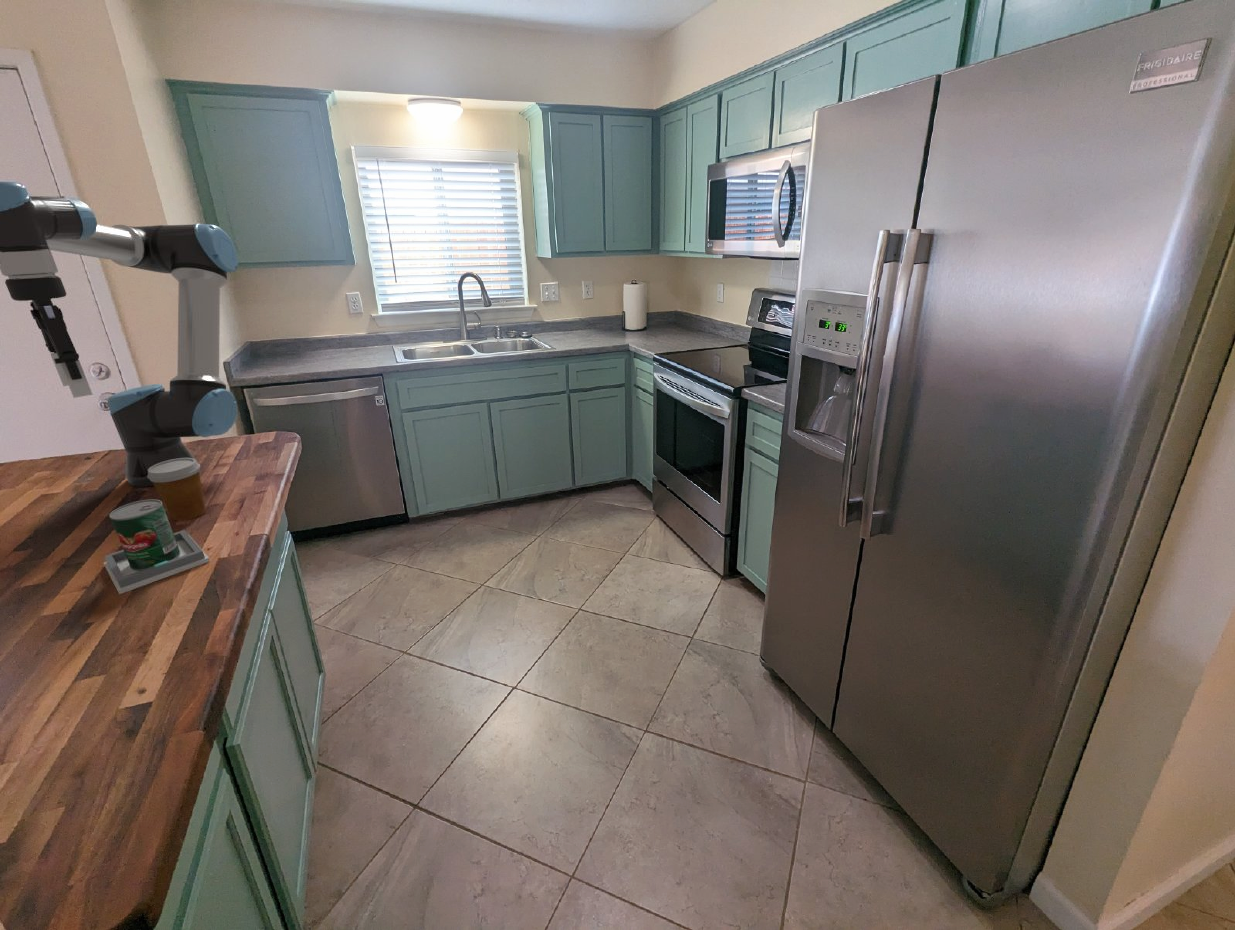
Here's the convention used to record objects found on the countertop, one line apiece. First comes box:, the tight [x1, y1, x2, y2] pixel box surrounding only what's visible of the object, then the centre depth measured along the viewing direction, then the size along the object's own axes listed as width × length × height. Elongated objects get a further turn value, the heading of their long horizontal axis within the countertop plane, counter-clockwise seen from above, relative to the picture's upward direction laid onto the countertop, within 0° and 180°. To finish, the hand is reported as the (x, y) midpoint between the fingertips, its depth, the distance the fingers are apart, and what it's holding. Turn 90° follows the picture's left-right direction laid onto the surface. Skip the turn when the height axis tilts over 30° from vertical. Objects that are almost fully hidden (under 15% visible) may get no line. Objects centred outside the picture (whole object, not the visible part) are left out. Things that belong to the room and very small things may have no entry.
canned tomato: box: [109, 498, 180, 571], centre depth 110 cm, size 8×8×11 cm
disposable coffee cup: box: [147, 458, 207, 521], centre depth 129 cm, size 10×10×12 cm
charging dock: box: [103, 529, 211, 595], centre depth 112 cm, size 14×14×2 cm
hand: (77, 390), depth 114 cm, fingers open, 13 cm apart
